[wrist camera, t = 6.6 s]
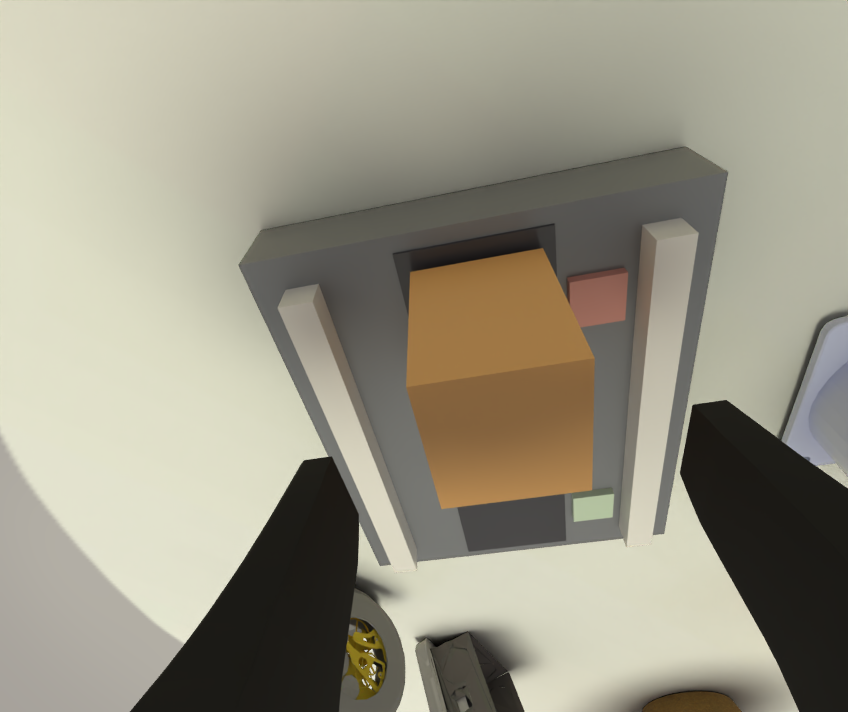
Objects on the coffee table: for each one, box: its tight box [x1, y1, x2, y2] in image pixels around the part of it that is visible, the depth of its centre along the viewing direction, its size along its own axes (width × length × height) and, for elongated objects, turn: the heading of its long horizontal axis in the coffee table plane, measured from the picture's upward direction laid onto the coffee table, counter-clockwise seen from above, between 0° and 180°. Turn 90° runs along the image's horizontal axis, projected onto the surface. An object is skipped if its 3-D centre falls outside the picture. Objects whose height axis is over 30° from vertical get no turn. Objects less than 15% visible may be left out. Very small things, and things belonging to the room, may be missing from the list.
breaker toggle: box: [406, 248, 595, 509], centre depth 12 cm, size 4×4×5 cm
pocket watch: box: [339, 588, 405, 712], centre depth 26 cm, size 8×8×10 cm
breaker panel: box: [239, 147, 728, 573], centre depth 18 cm, size 13×16×3 cm
